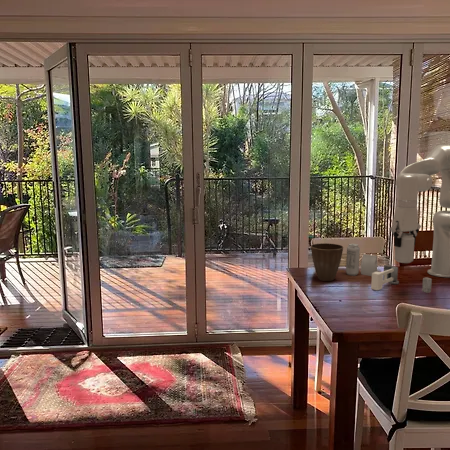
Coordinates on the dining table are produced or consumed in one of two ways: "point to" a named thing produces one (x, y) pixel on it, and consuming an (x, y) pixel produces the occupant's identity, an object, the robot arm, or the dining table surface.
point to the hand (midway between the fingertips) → (404, 245)
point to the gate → (378, 278)
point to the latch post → (427, 285)
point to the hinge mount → (389, 274)
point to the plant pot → (326, 260)
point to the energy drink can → (352, 259)
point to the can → (405, 249)
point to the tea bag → (368, 264)
